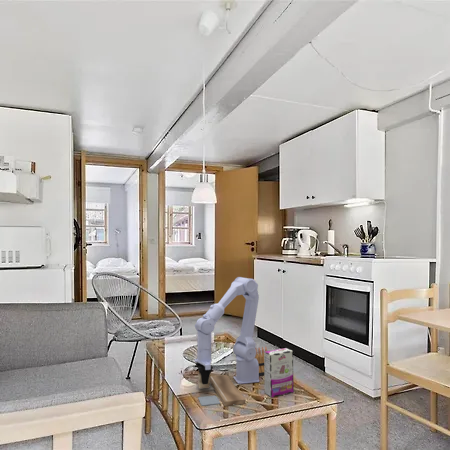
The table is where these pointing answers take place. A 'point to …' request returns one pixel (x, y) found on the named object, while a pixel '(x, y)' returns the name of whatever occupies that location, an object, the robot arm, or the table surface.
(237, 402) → the walnut board
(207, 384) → the block
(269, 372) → the candy bar box
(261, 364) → the ammunition clip
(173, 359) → the table surface
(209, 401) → the slate mat
